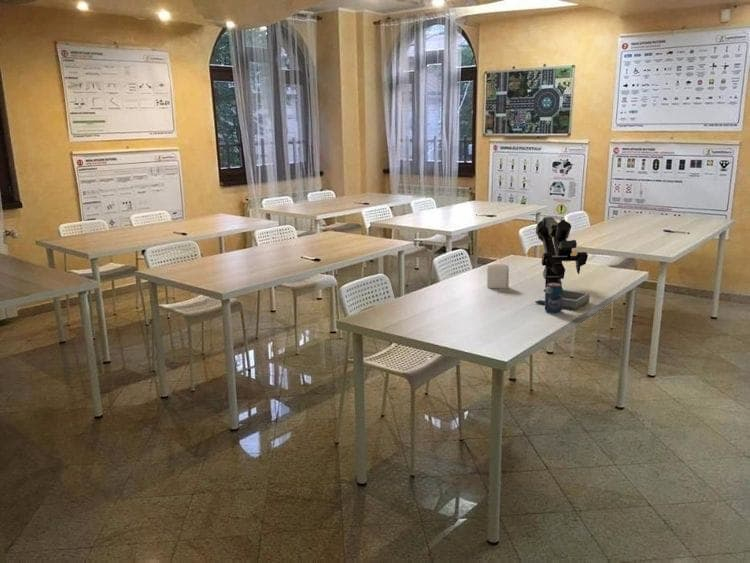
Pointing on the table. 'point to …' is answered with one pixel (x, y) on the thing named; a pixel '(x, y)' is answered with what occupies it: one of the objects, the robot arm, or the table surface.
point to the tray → (574, 299)
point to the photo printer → (498, 275)
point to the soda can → (553, 298)
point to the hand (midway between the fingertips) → (567, 273)
